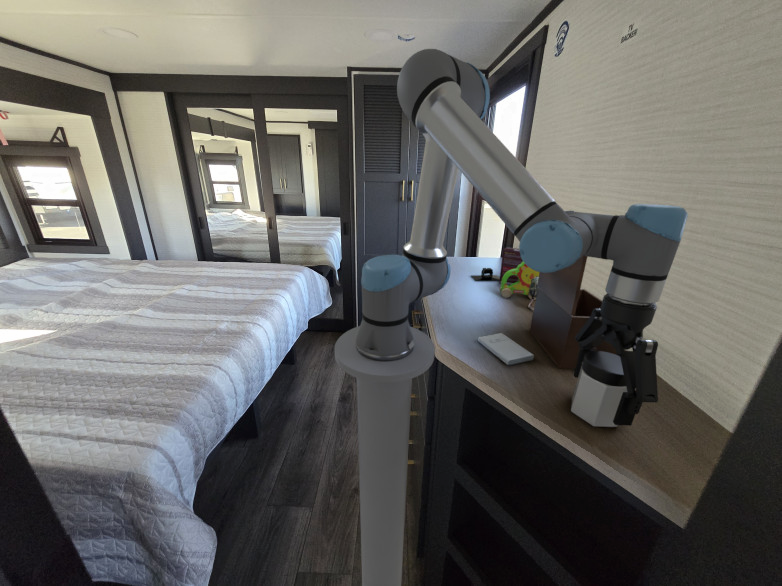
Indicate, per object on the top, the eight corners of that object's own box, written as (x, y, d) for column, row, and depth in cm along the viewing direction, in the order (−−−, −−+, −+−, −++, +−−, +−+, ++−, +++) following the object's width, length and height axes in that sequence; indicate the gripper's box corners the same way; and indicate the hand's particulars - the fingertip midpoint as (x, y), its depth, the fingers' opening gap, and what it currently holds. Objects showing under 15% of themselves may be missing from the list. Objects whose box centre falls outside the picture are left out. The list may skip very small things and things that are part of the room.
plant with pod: (518, 306, 112) (528, 252, 105) (546, 304, 114) (558, 251, 107) (531, 315, 105) (542, 258, 97) (561, 314, 107) (575, 257, 99)
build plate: (496, 276, 145) (498, 266, 143) (503, 281, 138) (504, 271, 136) (470, 276, 144) (471, 266, 142) (475, 281, 137) (477, 271, 135)
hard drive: (507, 366, 77) (477, 341, 88) (533, 360, 80) (501, 337, 91) (508, 360, 77) (478, 336, 88) (534, 354, 79) (502, 332, 90)
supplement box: (521, 286, 132) (527, 249, 126) (519, 289, 128) (525, 251, 123) (500, 282, 136) (505, 246, 131) (497, 285, 132) (503, 248, 127)
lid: (548, 237, 84) (545, 237, 84) (587, 255, 66) (583, 255, 66) (539, 286, 89) (537, 286, 89) (574, 315, 71) (571, 315, 71)
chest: (573, 332, 94) (584, 289, 89) (613, 370, 76) (630, 318, 71) (529, 331, 95) (538, 287, 89) (559, 368, 77) (572, 317, 72)
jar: (619, 436, 57) (639, 382, 53) (569, 418, 61) (584, 366, 57) (616, 407, 64) (634, 357, 60) (571, 392, 68) (585, 345, 64)
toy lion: (500, 298, 119) (507, 259, 114) (498, 292, 124) (504, 255, 119) (544, 301, 117) (553, 262, 111) (540, 296, 122) (548, 258, 116)
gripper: (722, 333, 42) (669, 451, 49) (607, 276, 65) (583, 362, 73) (665, 331, 42) (621, 449, 50) (571, 275, 65) (551, 361, 73)
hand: (599, 398), depth 61 cm, fingers open, 13 cm apart
